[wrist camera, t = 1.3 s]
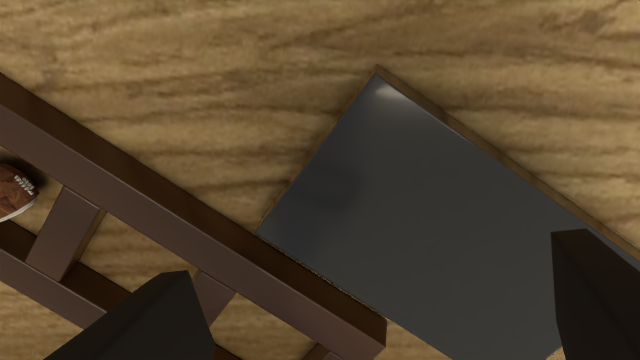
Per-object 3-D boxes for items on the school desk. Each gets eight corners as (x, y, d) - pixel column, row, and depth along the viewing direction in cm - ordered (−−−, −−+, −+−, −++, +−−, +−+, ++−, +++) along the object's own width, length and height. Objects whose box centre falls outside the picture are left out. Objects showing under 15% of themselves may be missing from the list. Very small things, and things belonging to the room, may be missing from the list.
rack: (290, 418, 28) (284, 447, 27) (-95, 190, 25) (-125, 208, 24) (387, 321, 25) (386, 347, 23) (-44, 44, 22) (-75, 56, 21)
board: (500, 372, 25) (504, 393, 24) (261, 217, 23) (254, 233, 22) (643, 253, 22) (655, 272, 21) (376, 62, 20) (374, 72, 19)
